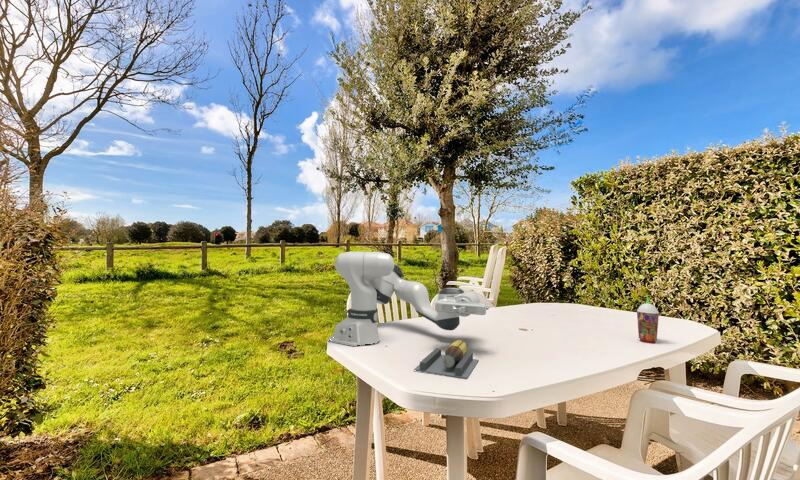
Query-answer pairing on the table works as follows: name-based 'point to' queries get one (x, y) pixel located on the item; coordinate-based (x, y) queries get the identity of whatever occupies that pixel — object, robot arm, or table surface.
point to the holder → (436, 366)
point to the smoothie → (647, 322)
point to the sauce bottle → (455, 353)
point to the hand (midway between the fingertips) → (456, 310)
